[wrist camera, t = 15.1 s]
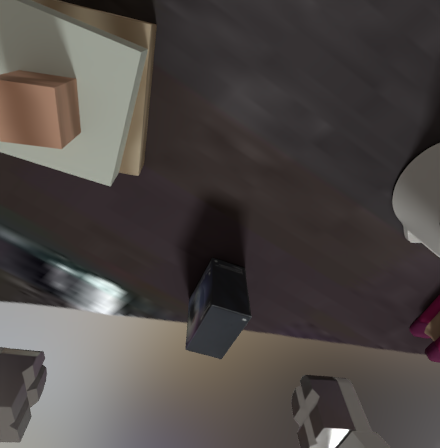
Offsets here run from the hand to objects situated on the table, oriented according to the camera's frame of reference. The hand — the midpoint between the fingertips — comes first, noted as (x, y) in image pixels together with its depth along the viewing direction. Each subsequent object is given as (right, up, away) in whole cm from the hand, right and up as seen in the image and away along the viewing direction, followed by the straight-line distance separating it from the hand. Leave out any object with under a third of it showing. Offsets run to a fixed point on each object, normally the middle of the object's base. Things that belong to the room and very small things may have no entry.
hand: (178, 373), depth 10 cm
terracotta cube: (-15, +16, +20) cm, 30 cm away
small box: (+1, -5, +44) cm, 44 cm away
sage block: (-15, +19, +23) cm, 33 cm away
